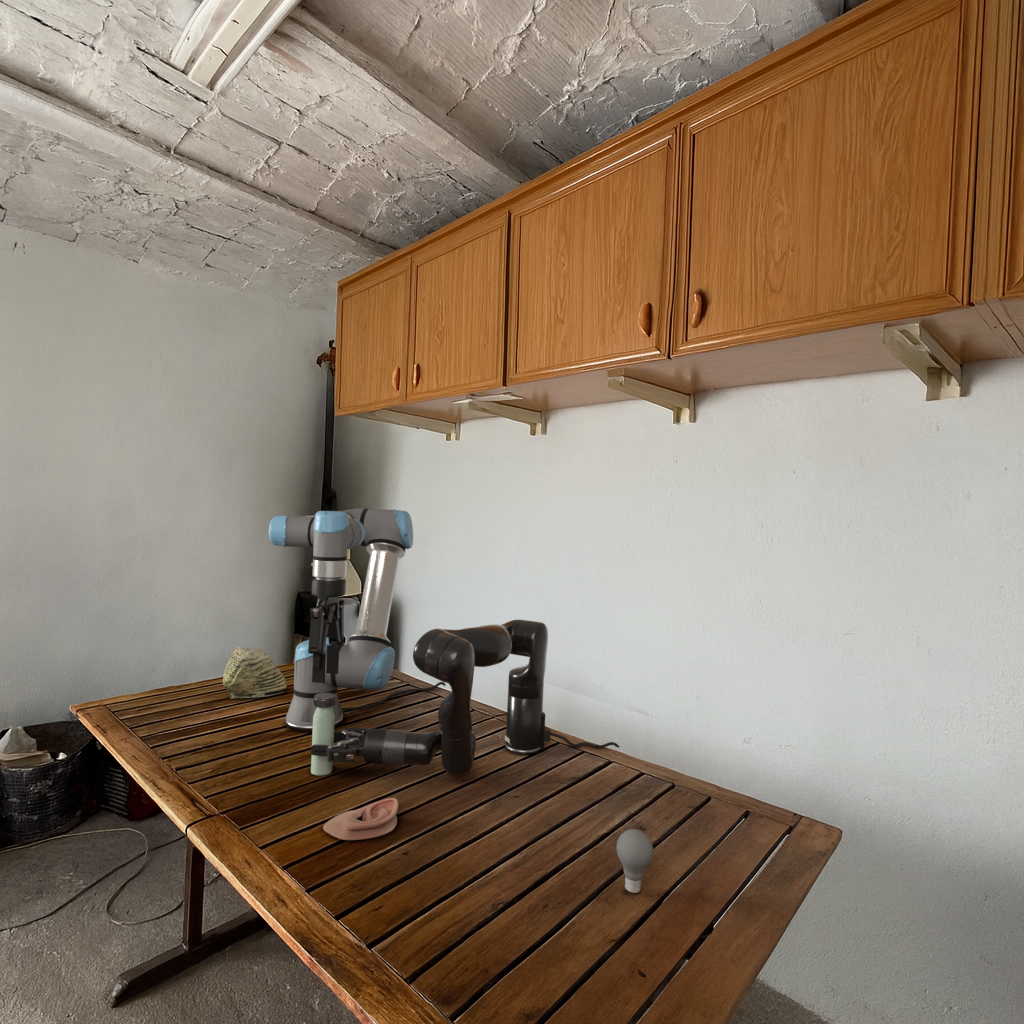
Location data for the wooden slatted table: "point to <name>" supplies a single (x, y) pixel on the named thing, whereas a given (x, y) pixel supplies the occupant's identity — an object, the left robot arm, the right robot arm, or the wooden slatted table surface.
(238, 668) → the fossil
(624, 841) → the light bulb
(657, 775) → the wooden slatted table surface
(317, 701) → the cap
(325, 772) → the bottle
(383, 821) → the anatomical model
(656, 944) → the wooden slatted table surface
